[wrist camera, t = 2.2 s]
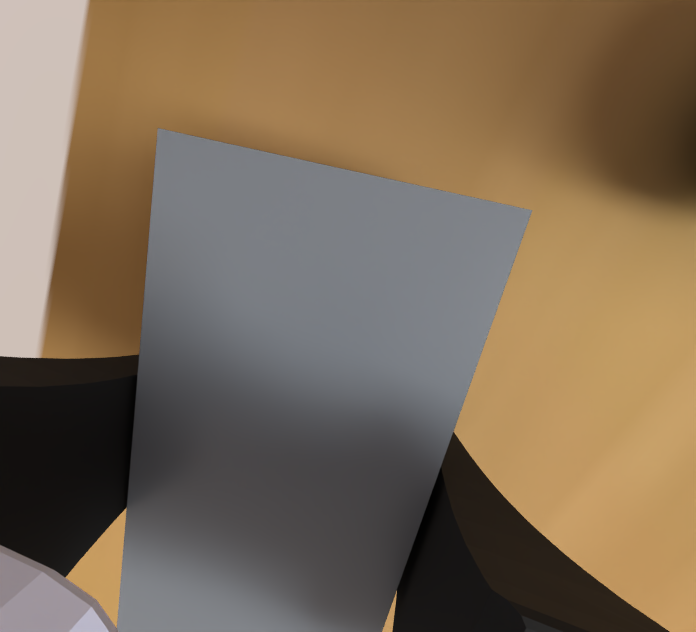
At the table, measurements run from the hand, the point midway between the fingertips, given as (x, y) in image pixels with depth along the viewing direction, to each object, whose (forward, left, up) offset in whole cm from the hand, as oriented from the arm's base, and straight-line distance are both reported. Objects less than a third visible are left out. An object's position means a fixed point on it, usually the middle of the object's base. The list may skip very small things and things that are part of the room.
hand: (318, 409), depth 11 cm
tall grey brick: (0, 0, -2) cm, 2 cm away
